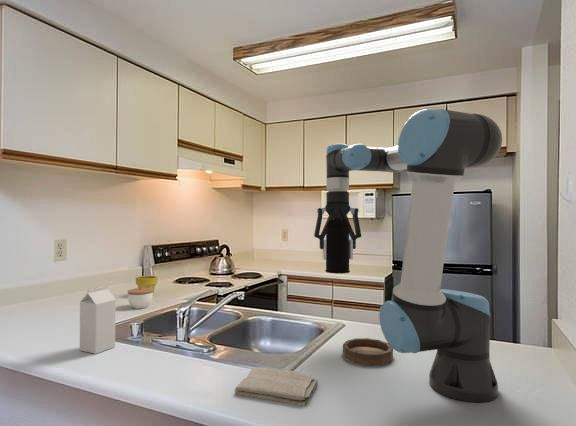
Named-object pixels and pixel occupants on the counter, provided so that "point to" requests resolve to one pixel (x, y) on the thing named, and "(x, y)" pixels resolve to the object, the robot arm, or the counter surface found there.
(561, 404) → the counter surface
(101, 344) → the milk carton
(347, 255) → the aerosol can
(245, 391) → the washcloth
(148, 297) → the lidded jar
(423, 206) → the robot arm
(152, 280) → the plant pot
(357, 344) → the round tray
